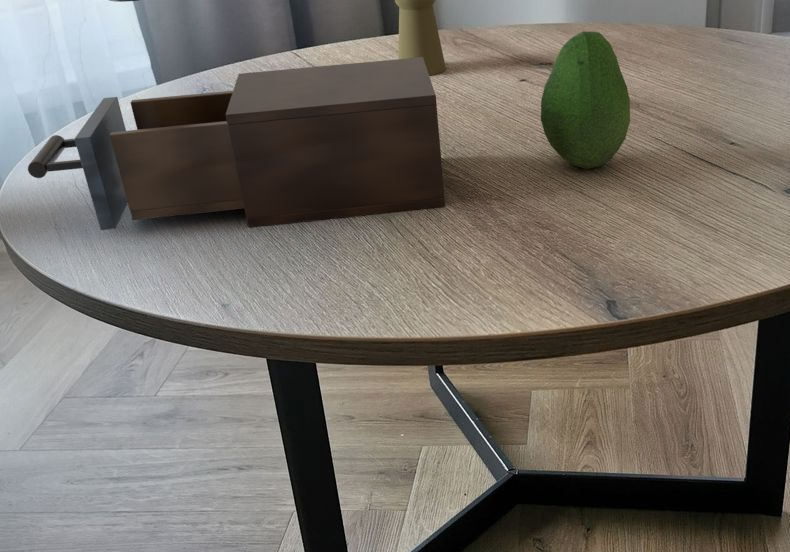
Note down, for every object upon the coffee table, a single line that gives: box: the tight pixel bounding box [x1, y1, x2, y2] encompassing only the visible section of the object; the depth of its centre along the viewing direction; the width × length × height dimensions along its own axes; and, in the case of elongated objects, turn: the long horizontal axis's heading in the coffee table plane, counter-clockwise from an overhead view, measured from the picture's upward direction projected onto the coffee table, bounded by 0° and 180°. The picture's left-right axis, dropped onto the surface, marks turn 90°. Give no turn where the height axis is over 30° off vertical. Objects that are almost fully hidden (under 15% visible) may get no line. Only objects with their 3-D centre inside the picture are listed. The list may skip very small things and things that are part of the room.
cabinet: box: [226, 57, 446, 228], centre depth 84 cm, size 17×13×10 cm
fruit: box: [540, 30, 631, 170], centre depth 85 cm, size 8×8×12 cm
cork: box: [394, 0, 447, 77], centre depth 118 cm, size 6×6×11 cm
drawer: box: [27, 90, 244, 231], centre depth 82 cm, size 20×11×8 cm, turn 99°
